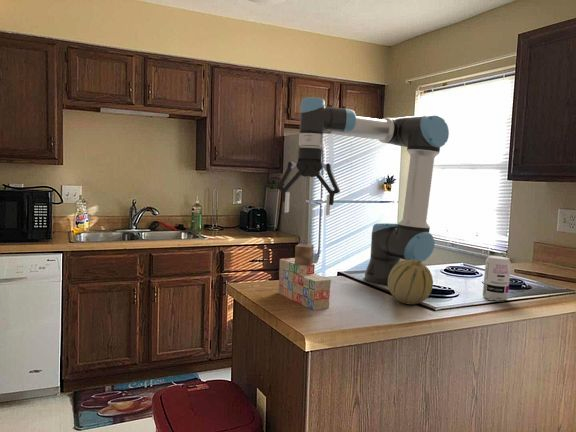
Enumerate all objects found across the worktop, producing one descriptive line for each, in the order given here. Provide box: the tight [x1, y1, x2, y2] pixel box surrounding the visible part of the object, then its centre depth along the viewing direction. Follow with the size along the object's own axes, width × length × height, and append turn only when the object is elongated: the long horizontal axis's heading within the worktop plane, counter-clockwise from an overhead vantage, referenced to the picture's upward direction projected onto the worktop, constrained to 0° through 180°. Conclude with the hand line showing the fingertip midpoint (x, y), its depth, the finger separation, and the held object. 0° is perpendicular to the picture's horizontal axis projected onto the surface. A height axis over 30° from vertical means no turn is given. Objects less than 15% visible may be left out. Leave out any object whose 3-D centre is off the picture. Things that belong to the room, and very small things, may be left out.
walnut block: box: [294, 243, 315, 266], centre depth 156 cm, size 5×5×6 cm
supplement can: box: [482, 255, 512, 301], centre depth 172 cm, size 8×8×15 cm
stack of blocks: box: [278, 257, 332, 311], centre depth 157 cm, size 21×6×12 cm, turn 32°
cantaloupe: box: [387, 259, 434, 305], centre depth 160 cm, size 15×15×15 cm
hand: (306, 213), depth 155 cm, fingers open, 13 cm apart
